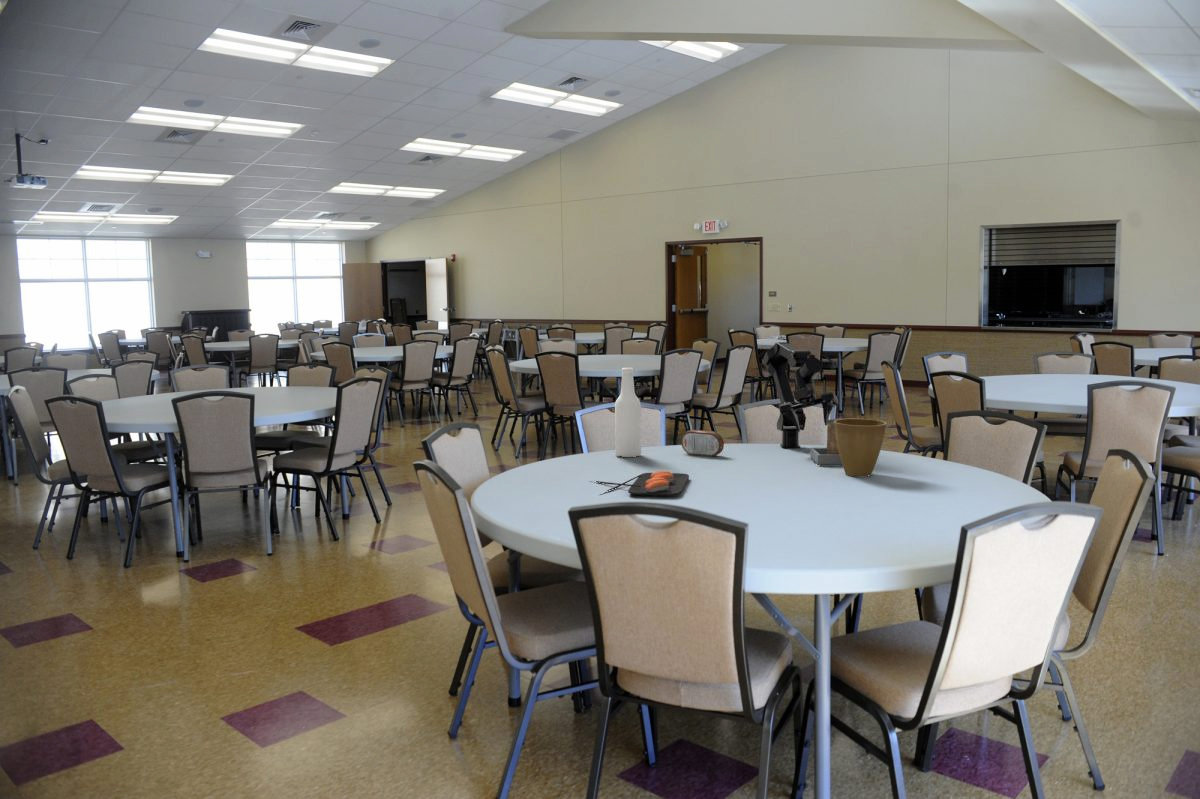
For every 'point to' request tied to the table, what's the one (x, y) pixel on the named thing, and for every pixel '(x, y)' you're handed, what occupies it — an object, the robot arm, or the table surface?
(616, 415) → the alcohol
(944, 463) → the table surface
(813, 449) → the box
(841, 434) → the plant pot
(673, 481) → the sushi plate
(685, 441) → the tin
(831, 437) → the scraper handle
